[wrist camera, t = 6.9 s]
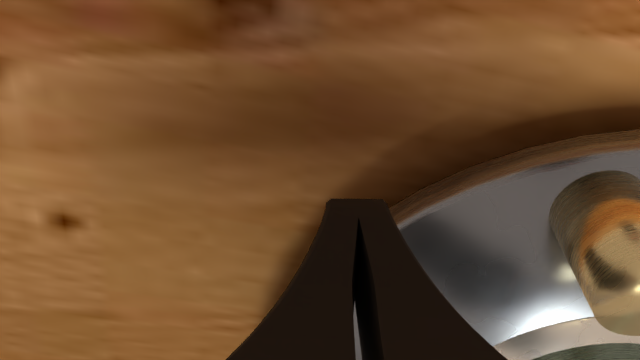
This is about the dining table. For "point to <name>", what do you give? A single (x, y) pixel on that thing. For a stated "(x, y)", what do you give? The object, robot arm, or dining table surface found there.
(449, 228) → the turntable platter
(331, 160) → the dining table surface
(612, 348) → the cover
